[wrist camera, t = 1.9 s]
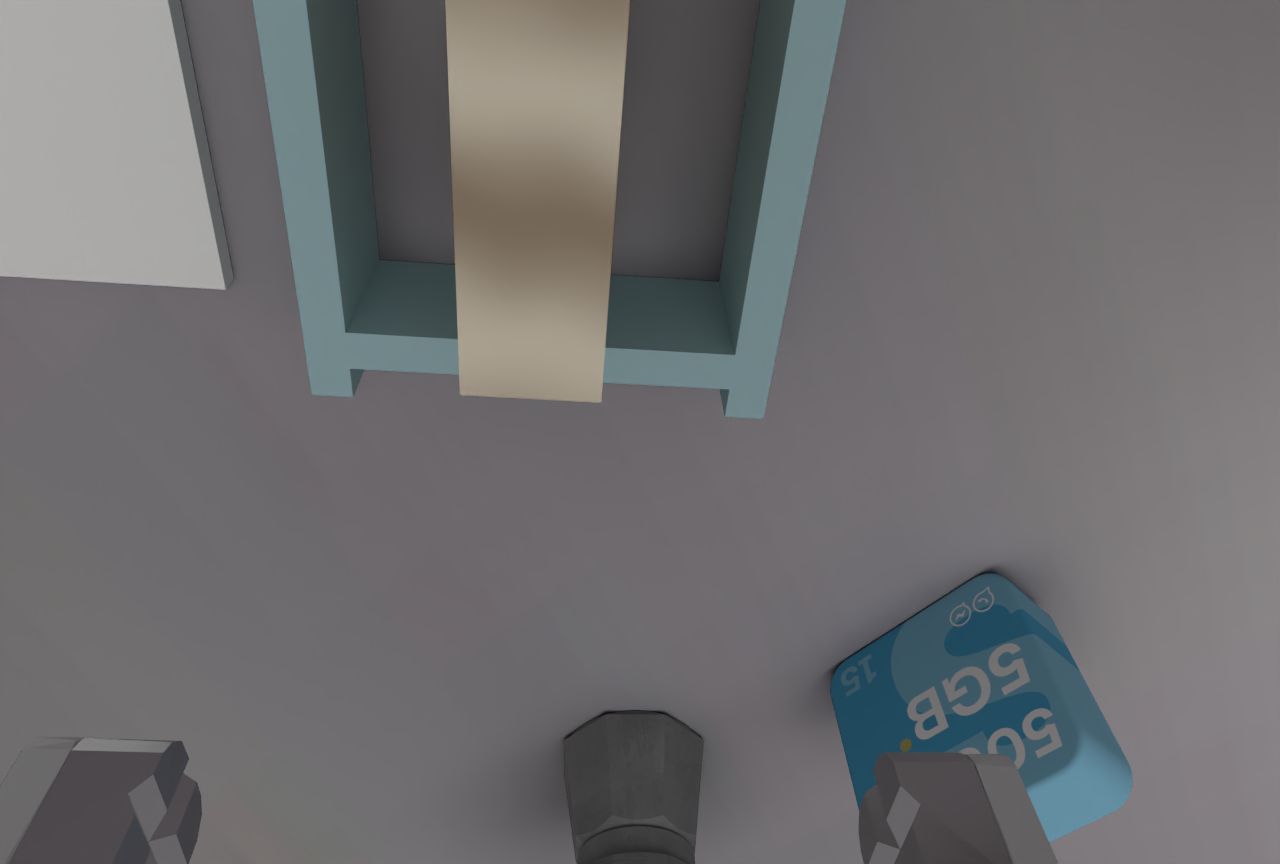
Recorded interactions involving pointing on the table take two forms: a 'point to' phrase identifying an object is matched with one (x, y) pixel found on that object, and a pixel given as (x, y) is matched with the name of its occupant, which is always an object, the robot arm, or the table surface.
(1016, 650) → the data package
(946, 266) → the table surface
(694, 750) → the coffeepot
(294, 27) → the tray
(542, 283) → the beige wooden block
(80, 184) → the pad
